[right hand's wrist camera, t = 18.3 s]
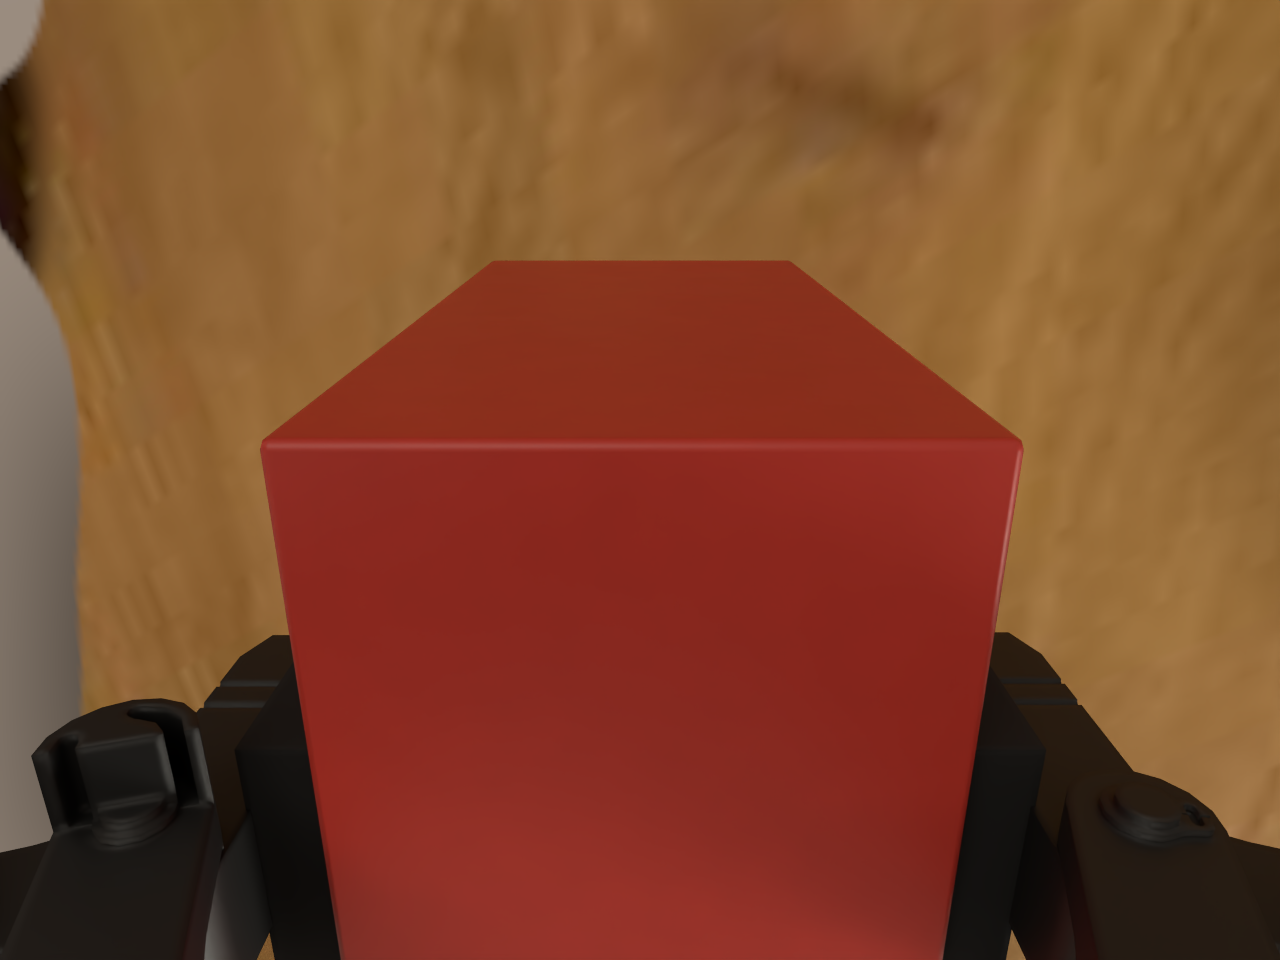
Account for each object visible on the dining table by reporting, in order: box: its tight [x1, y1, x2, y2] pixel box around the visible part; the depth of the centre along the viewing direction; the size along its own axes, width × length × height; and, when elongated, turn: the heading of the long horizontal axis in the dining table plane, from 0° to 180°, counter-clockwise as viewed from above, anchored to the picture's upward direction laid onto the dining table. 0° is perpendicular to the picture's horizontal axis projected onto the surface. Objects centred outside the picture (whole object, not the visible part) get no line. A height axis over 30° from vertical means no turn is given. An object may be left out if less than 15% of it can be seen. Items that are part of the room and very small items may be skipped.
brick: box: [260, 261, 1024, 960], centre depth 13 cm, size 9×6×11 cm, turn 0°
